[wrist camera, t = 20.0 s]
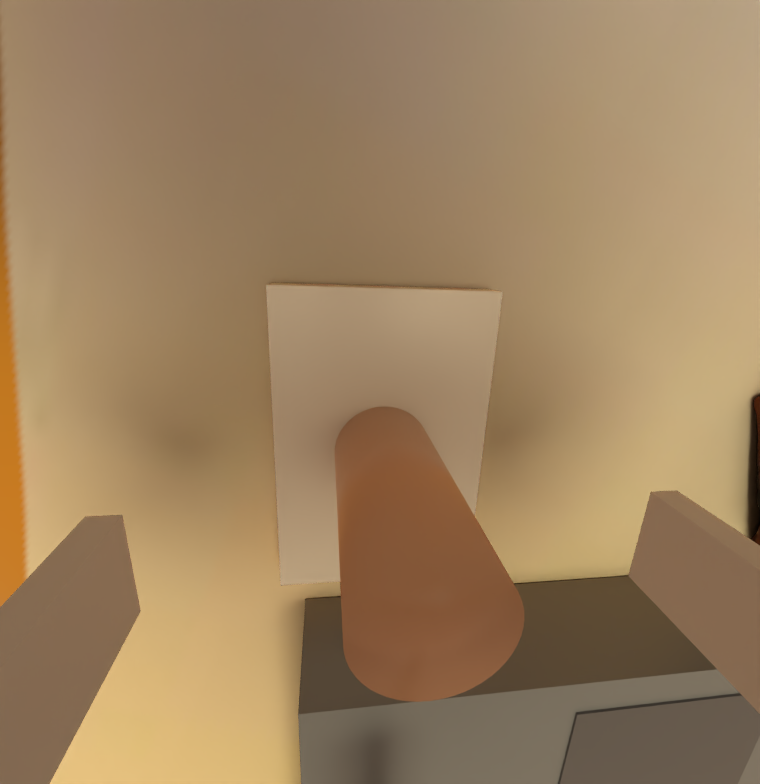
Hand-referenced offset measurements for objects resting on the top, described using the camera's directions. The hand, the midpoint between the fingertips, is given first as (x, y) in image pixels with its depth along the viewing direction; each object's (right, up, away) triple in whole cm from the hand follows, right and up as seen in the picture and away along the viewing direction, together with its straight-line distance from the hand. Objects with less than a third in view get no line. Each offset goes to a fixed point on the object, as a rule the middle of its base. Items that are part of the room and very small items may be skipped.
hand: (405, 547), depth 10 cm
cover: (-1, +2, +7) cm, 7 cm away
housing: (+6, -13, +12) cm, 19 cm away
